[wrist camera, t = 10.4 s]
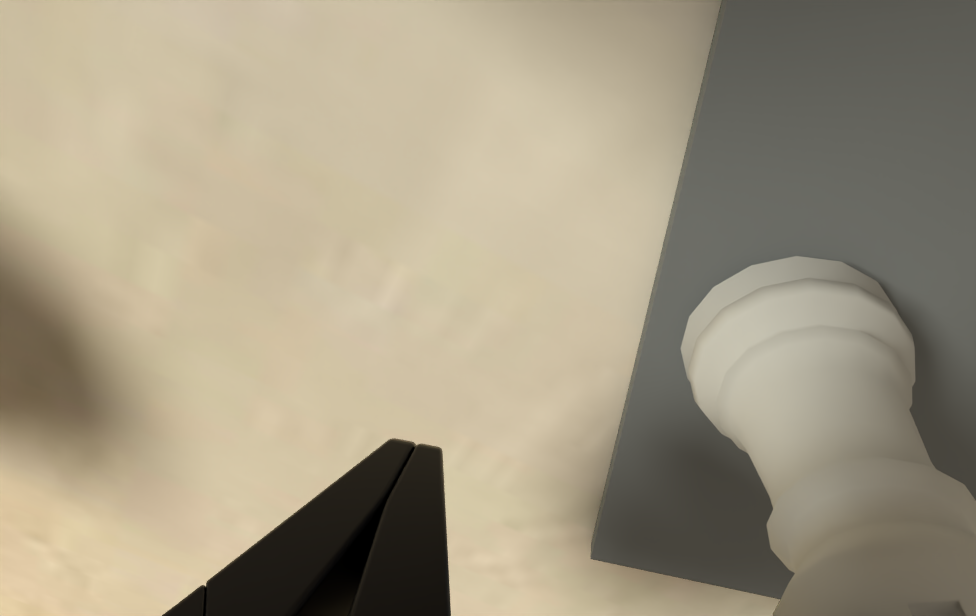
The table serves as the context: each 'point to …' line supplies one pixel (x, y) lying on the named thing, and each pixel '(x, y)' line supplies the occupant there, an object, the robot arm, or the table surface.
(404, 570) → the robot arm
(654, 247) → the table surface
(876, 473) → the rook chess piece
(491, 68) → the table surface
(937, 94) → the rubber mat
